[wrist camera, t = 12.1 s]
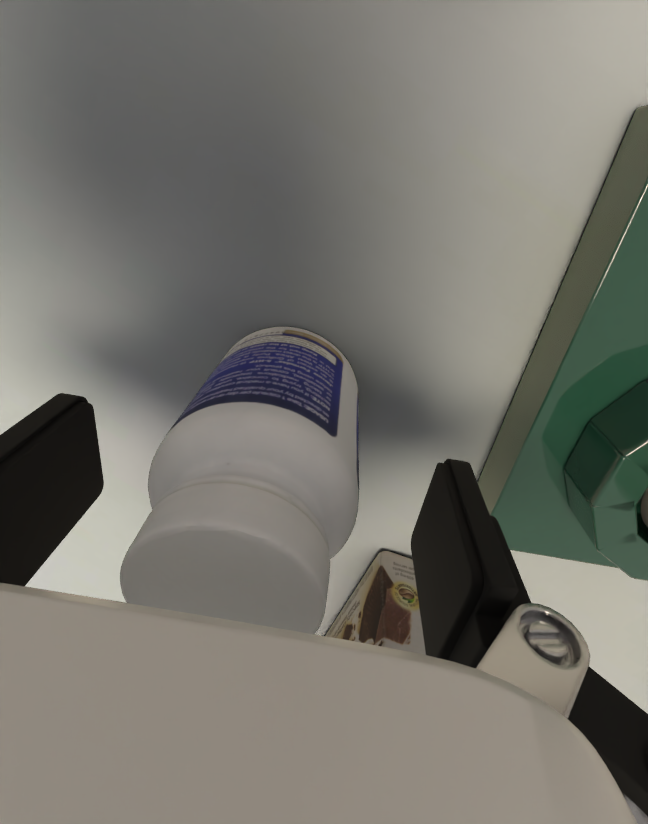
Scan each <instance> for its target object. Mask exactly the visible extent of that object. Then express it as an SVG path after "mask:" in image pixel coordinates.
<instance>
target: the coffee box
mask: <svg viewBox="0 0 648 824" xmlns="http://www.w3.org/2000/svg"><path fill="white" fill-rule="evenodd" d="M325 636H326V637H332V638H338V639H344V640H350V641H355V642H360V643H366V644H371V645H376V646H382V647H387V648H392V649H397V650H403V651H408V652H413V653H419V654H423V655H426V652H425V645H424V637H423V630H422V623H421V616H420V609H419V601H418V594H417V587H416V580H415V573H414V565H413V560H412V559H409V558H406V557H404V556H401V555H398V554H395V553H392V552H389V551H383V552H380V553H379V554H378V555H377V557H376V558H375V560H374V561H373V562H372V564H371V566H370V567H369V569H368V570H367V572H366V574H365V575H364V577H363V578H362V580H361V581H360V583H359V584H358V586H357V588H356V589H355V591H354V592H353V594H352V595H351V597H350V598H349V600H348V601H347V603H346V604H345V606H344V608H343V609H342V611H341V612H340V614H339V615H338V617H337V618H336V620H335V621H334V623H333V625H332V626H331V628H330V629H329V631H328V632H327V634H326V635H325Z"/></svg>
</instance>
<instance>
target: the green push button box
mask: <svg viewBox="0 0 648 824" xmlns="http://www.w3.org/2000/svg"><path fill="white" fill-rule="evenodd" d="M478 486H479V488H480V491H481V493H482V496H483V499H484V501H485V504H486V506H487V509H488V511H489V514H490V515H492V516H494V517H495V518H496V519H497V521H498V522H499V525H500V527H501V530H502V532H503V535H504V537H505V539H506V542H507V544H508V547H509V549H510V550H514V551H520V552H526V553H532V554H538V555H544V556H550V557H556V558H561V559H567V560H573V561H579V562H585V563H591V564H597V565H603V566H609V567H615V568H620V569H621V570H622V571H623V572H625V573H626V574H627V575H628V576H630V577H631V578H634V579H640V580H646V581H648V528H647V527H646V525H645V524H644V522H643V519H642V515H641V501H642V497H643V495H644V493H645V492H646V490H647V489H648V105H646V106H642V107H639V108H637V109H636V111H635V113H634V116H633V118H632V120H631V123H630V125H629V127H628V130H627V132H626V134H625V137H624V139H623V141H622V144H621V146H620V148H619V151H618V153H617V156H616V158H615V160H614V163H613V165H612V167H611V170H610V172H609V174H608V177H607V179H606V181H605V184H604V186H603V188H602V191H601V193H600V196H599V198H598V200H597V203H596V205H595V207H594V210H593V212H592V214H591V217H590V219H589V221H588V224H587V226H586V228H585V231H584V233H583V236H582V238H581V240H580V243H579V245H578V247H577V250H576V252H575V254H574V257H573V259H572V261H571V264H570V266H569V269H568V271H567V273H566V276H565V278H564V280H563V283H562V285H561V287H560V290H559V292H558V294H557V297H556V299H555V301H554V304H553V306H552V309H551V311H550V313H549V316H548V318H547V320H546V323H545V325H544V327H543V330H542V332H541V334H540V337H539V339H538V341H537V344H536V346H535V349H534V351H533V353H532V356H531V358H530V360H529V363H528V365H527V367H526V370H525V372H524V374H523V377H522V379H521V381H520V384H519V386H518V389H517V391H516V393H515V396H514V398H513V400H512V403H511V405H510V407H509V410H508V412H507V414H506V417H505V419H504V421H503V424H502V426H501V429H500V431H499V433H498V436H497V438H496V440H495V443H494V445H493V447H492V450H491V452H490V454H489V457H488V459H487V461H486V464H485V466H484V469H483V471H482V473H481V476H480V478H479V480H478Z"/></svg>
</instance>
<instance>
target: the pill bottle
mask: <svg viewBox="0 0 648 824" xmlns="http://www.w3.org/2000/svg"><path fill="white" fill-rule="evenodd" d="M358 424H359V396H358V386H357V382H356V378H355V375H354V372H353V370H352V368H351V366H350V364H349V362H348V361H347V359H346V358H345V357H344V355H343V354H342V353H341V352H340V351H339V350H338V349H337V348H336V347H335V346H334V345H333V344H331V343H330V342H329V341H327V340H326V339H324V338H322V337H321V336H319V335H317V334H315V333H312V332H310V331H307V330H303V329H299V328H293V327H272V328H267V329H263V330H259V331H256V332H254V333H252V334H250V335H248V336H246V337H244V338H243V339H241V340H240V341H238V342H237V343H236V344H235V345H234V346H233V347H232V348H231V349H230V350H229V351H228V353H227V354H226V355H225V356H224V358H223V359H222V360H221V362H220V363H219V364H218V366H217V367H216V368H215V370H214V371H213V372H212V374H211V375H210V377H209V378H208V379H207V381H206V382H205V383H204V385H203V386H202V387H201V389H200V390H199V391H198V393H197V394H196V396H195V397H194V399H193V400H192V401H191V402H190V404H189V405H188V406H187V408H186V409H185V410H184V412H183V413H182V415H181V416H180V417H179V419H178V420H177V421H176V423H175V424H174V425H173V427H172V428H171V429H170V431H169V432H168V434H167V435H166V437H165V438H164V440H163V441H162V443H161V444H160V446H159V448H158V449H157V451H156V453H155V456H154V458H153V460H152V463H151V467H150V471H149V478H148V491H149V498H150V503H151V507H152V512H151V513H150V514H149V516H148V518H147V520H146V521H145V523H144V524H143V526H142V527H141V529H140V531H139V533H138V534H137V536H136V538H135V539H134V541H133V543H132V544H131V546H130V547H129V549H128V551H127V553H126V555H125V558H124V560H123V563H122V566H121V571H120V584H121V589H122V594H123V596H124V598H125V600H126V602H127V603H130V604H136V605H142V606H148V607H154V608H161V609H167V610H173V611H179V612H185V613H191V614H197V615H203V616H209V617H215V618H221V619H227V620H233V621H239V622H245V623H251V624H256V625H262V626H268V627H274V628H280V629H286V630H291V631H297V632H303V633H309V634H315V633H316V631H317V630H318V628H319V626H320V624H321V622H322V619H323V616H324V613H325V607H326V600H327V592H328V583H329V574H330V559H331V558H332V557H334V556H335V555H336V554H337V553H338V552H339V551H340V549H341V548H342V547H343V546H344V544H345V543H346V541H347V540H348V538H349V536H350V534H351V532H352V530H353V527H354V525H355V521H356V517H357V512H358V500H359V460H358Z"/></svg>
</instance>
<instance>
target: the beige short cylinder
mask: <svg viewBox="0 0 648 824" xmlns="http://www.w3.org/2000/svg"><path fill="white" fill-rule="evenodd" d="M641 515H642V519H643V522H644V524H645V525H646V527H647V528H648V489H647V490H646V492H645V493H644V495H643V497H642V501H641Z"/></svg>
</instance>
